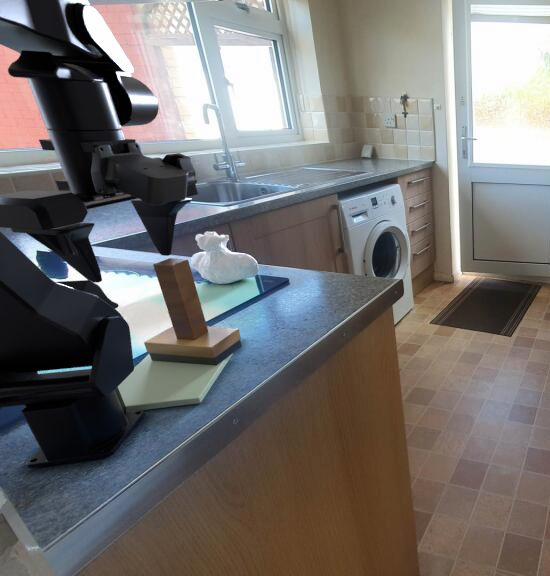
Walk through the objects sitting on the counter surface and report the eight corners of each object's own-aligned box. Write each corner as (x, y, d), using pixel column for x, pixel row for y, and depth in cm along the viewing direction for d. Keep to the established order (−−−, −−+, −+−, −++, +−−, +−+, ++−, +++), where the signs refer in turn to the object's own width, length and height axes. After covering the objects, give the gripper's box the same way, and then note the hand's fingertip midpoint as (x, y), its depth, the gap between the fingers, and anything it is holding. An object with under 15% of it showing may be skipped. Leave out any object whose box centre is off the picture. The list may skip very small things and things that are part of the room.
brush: (216, 366, 52) (189, 270, 47) (150, 361, 53) (116, 266, 48) (243, 346, 57) (221, 257, 52) (181, 341, 57) (154, 253, 52)
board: (200, 403, 47) (198, 397, 46) (93, 416, 44) (90, 410, 44) (240, 342, 59) (239, 337, 59) (159, 349, 57) (157, 344, 56)
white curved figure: (197, 290, 80) (157, 259, 70) (212, 258, 84) (175, 224, 74) (260, 292, 81) (228, 261, 71) (271, 260, 84) (242, 226, 75)
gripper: (64, 137, 34) (126, 304, 40) (222, 129, 51) (249, 247, 58) (-61, 131, 35) (20, 298, 41) (137, 125, 52) (173, 243, 58)
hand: (134, 267), depth 49 cm, fingers open, 9 cm apart
